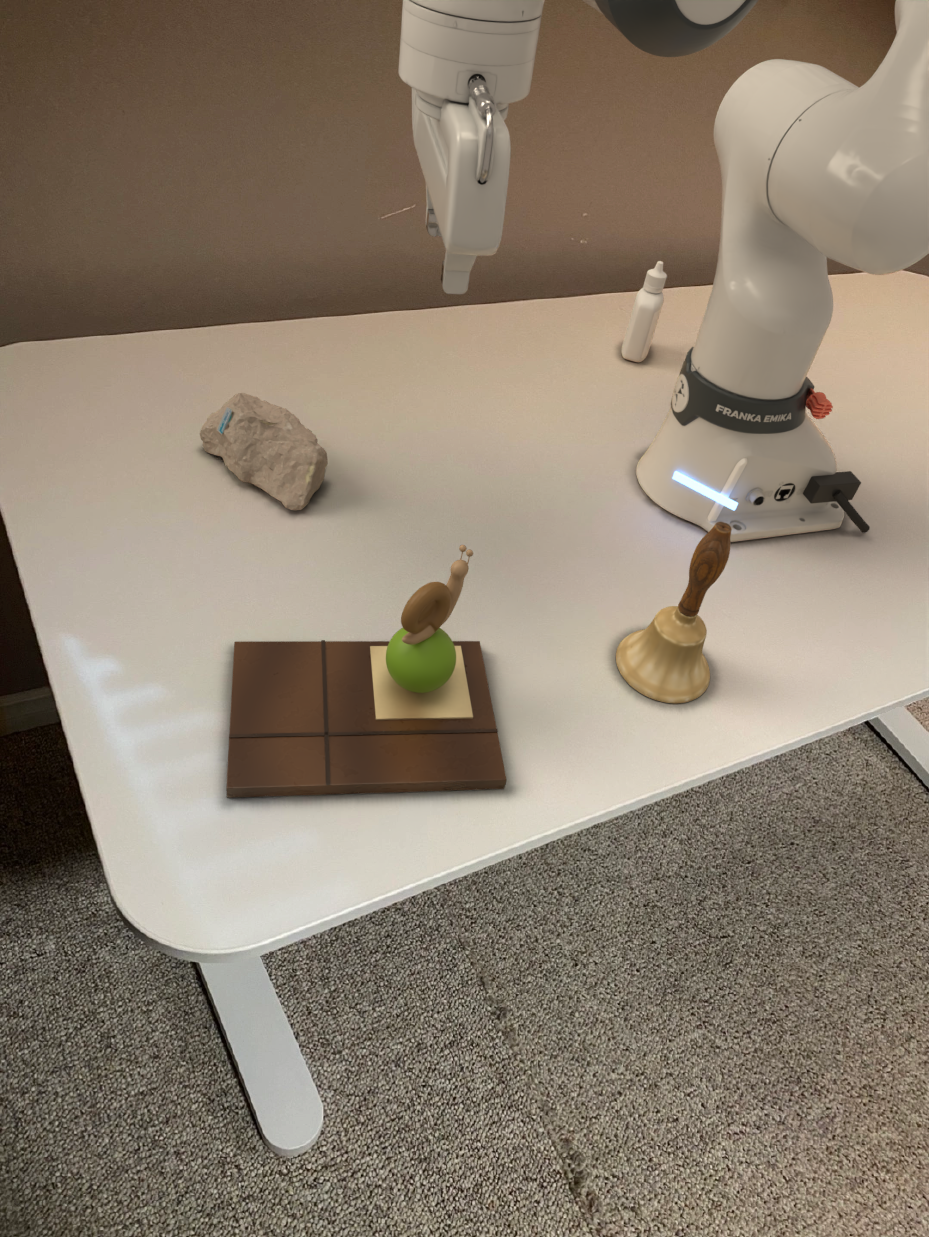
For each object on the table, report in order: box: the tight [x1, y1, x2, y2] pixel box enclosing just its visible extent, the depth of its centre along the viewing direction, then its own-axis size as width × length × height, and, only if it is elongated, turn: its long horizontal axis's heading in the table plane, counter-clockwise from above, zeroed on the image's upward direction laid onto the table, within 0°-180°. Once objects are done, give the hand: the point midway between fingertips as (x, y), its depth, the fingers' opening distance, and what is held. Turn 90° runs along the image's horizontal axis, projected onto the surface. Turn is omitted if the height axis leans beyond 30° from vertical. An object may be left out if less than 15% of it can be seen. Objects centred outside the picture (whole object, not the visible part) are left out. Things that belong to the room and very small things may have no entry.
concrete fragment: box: [199, 392, 328, 511], centre depth 90 cm, size 7×14×6 cm, turn 47°
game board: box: [225, 639, 507, 799], centre depth 72 cm, size 20×14×1 cm
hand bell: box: [615, 522, 732, 705], centre depth 75 cm, size 8×8×16 cm
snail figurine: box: [386, 544, 474, 693], centre depth 70 cm, size 5×6×12 cm
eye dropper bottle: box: [620, 260, 668, 363], centre depth 116 cm, size 4×6×12 cm
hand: (444, 260), depth 70 cm, fingers open, 8 cm apart
